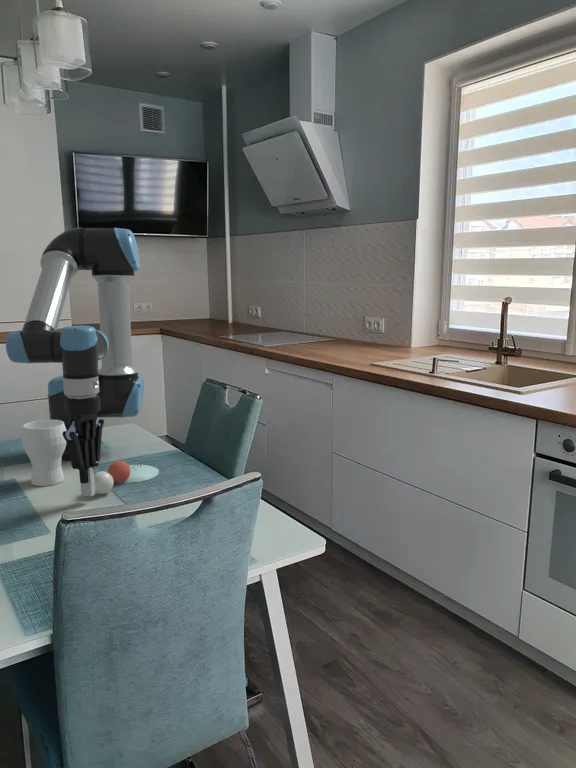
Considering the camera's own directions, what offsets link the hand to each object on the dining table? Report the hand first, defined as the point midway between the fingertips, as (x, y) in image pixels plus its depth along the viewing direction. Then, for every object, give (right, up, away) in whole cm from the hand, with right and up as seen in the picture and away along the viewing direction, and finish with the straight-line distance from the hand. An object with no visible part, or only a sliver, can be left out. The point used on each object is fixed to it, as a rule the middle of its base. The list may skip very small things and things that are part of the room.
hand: (88, 494), depth 135 cm
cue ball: (+1, +2, +5) cm, 6 cm away
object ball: (+3, +3, +13) cm, 14 cm away
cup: (-15, +1, +14) cm, 21 cm away
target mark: (+5, +2, +19) cm, 20 cm away
